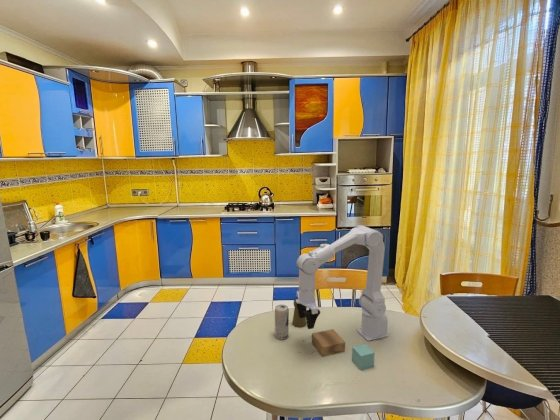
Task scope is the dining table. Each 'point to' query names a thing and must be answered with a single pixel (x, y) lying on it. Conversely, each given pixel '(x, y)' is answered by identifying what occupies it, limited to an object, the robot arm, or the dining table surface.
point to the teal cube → (363, 356)
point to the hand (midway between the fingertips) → (306, 322)
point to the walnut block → (328, 342)
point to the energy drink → (281, 321)
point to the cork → (298, 319)
